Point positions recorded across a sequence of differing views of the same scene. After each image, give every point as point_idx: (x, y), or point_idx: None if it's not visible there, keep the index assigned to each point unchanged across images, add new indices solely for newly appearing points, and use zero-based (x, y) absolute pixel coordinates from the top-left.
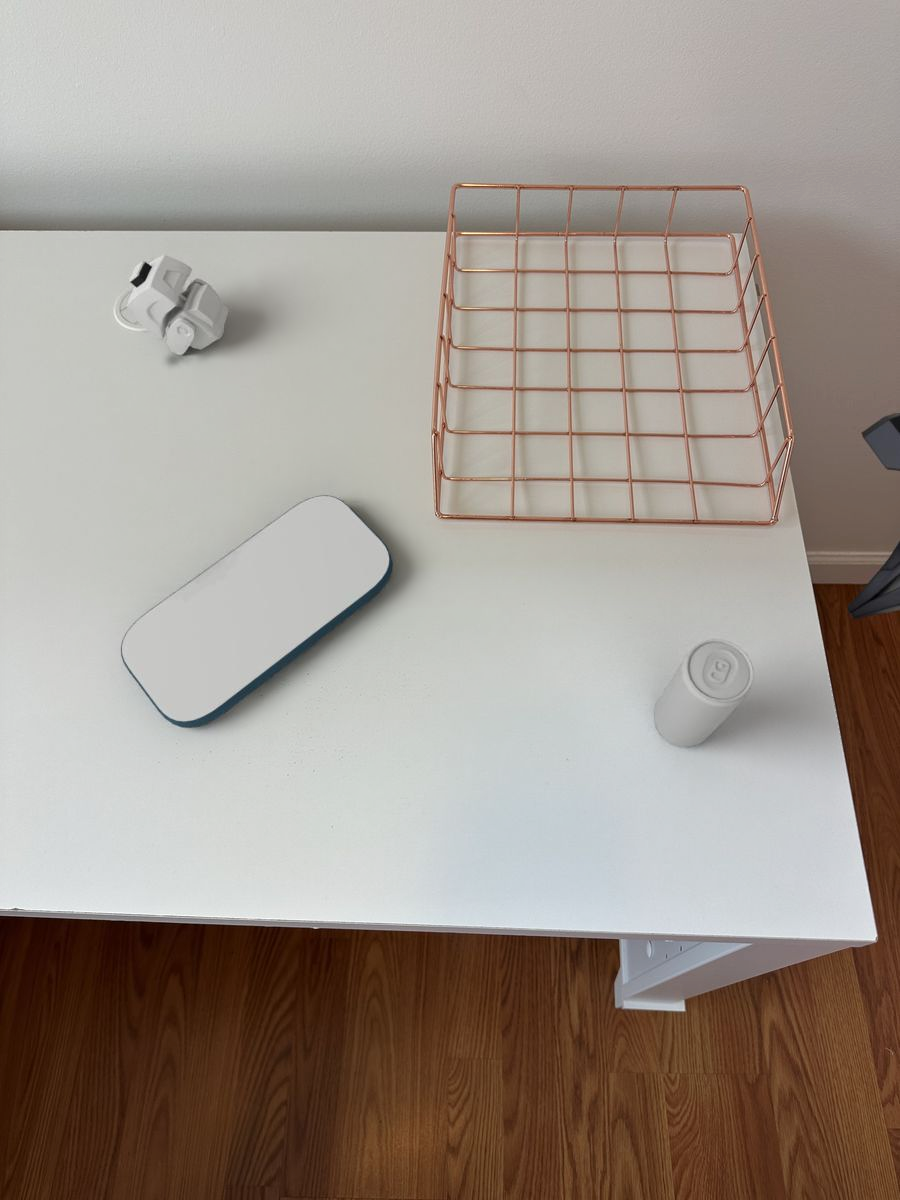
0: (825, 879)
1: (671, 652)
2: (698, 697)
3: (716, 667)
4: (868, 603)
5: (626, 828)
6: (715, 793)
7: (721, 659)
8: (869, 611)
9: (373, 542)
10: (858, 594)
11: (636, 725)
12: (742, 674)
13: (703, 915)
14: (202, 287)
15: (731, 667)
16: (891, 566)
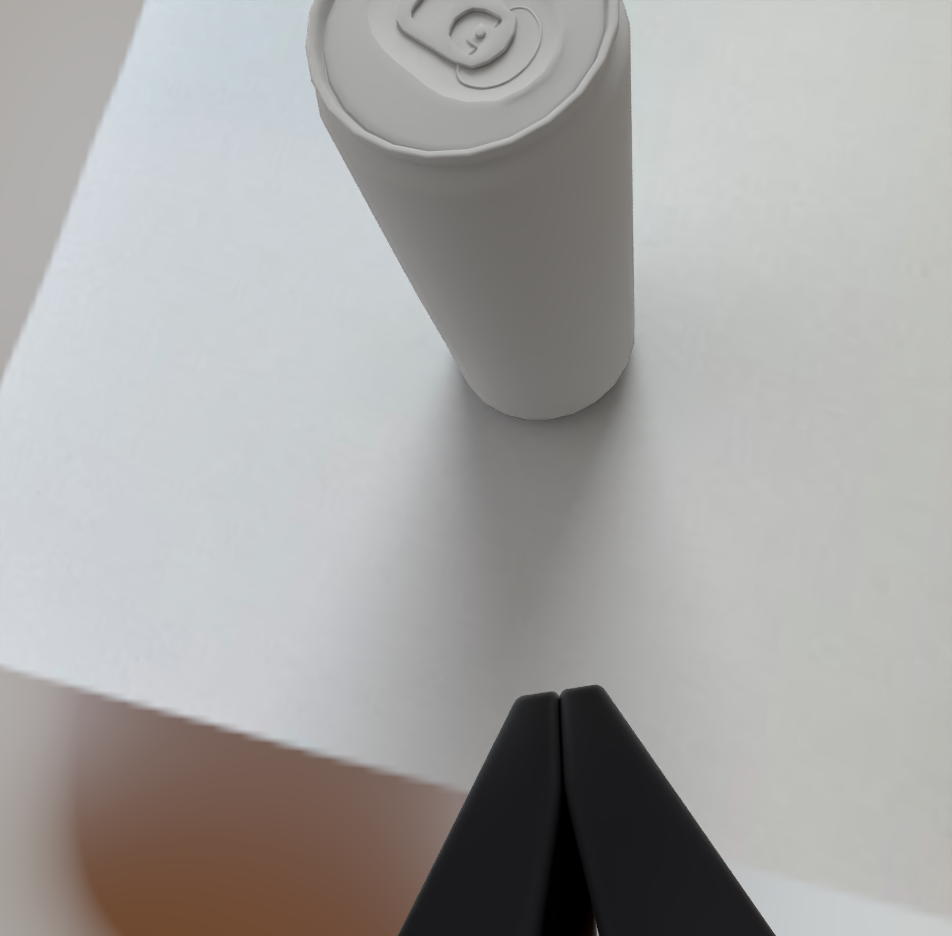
0: (41, 589)
1: (774, 369)
2: None
3: (477, 17)
4: (544, 786)
5: (301, 144)
6: (322, 378)
7: (507, 36)
8: (489, 777)
9: None
10: (648, 753)
11: None
12: (411, 109)
13: (68, 272)
14: None
15: (459, 74)
16: None
